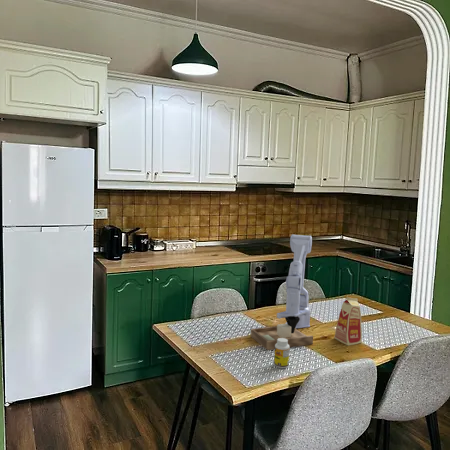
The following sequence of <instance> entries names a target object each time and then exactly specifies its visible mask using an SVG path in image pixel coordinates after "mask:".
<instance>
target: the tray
mask: <svg viewBox="0 0 450 450" xmlns="http://www.w3.org/2000/svg"><path fill="white" fill-rule="evenodd" d="M250 337H251V338H252V339H253V340H254V341H255V342H256V343H258V344H259V345H260V346H261V347H263V348H264V349H265V350H266V351H272V350H275V344H276V343H277V339H278V338H281V337H280V336H278V335H277V325H275V326H268V327H260V328H251V329H250ZM285 339H287V340H288V345H289V346H290V348H294V347H301V346H308V345H313V344H314V336H313V335H307V334H305V333H303V332H301V331H300V330H298V328H295V330H294V333H291V337H286V338H285Z"/></svg>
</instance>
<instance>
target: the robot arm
mask: <svg viewBox="0 0 450 450" xmlns="http://www.w3.org/2000/svg"><path fill="white" fill-rule="evenodd" d="M312 245H313V237H312V235H302V234H294V233H293V234H291V235H290V240H289V246H290V250H291V252H292V253H293V261H291V262H290V264H289V265H290V266H289V270H288V275H287V276H286V280H285V288H286V289H285V291H286V302H285V303H286V305H285V311H281V312H277V313H276V318H277V319H279V320H280V319H285V321H286V322H285V324H288V325H289V326H291V333H294V330H295V329H301V328H309V327H311V325H310V322H311V321H310V320H311V310H310V308H309V301H310V300H309V291H308V290H307V289H306V288H305V287H304V284H305V283H304V282H305V269H306V258H307V255H308V254H311V251H312Z"/></svg>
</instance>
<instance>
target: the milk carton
mask: <svg viewBox="0 0 450 450" xmlns="http://www.w3.org/2000/svg"><path fill="white" fill-rule="evenodd" d="M358 300H359V298H352V297H348V296H346V299H345V300H344V301H343V302H342V306H341V308H340V312H339V316H338V318H337V323H336V328H335V332H334V338H333V339H334V340H336V341H338V342H340V343H342V344H344V345H346V346H353V345H357V344H358V345H359V344H361V343H362V341H363V339H362V338H363V329H362V328H363V327H362V313H361V311H362V310H361V305H360V304H359V302H358Z"/></svg>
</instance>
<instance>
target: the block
mask: <svg viewBox="0 0 450 450" xmlns="http://www.w3.org/2000/svg"><path fill="white" fill-rule="evenodd" d="M276 326H277V335H278V336H280V337H281V338H286V337H291V326H289V325H288V324H286V323H281V324H280V323H279V324H277V325H276Z"/></svg>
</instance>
